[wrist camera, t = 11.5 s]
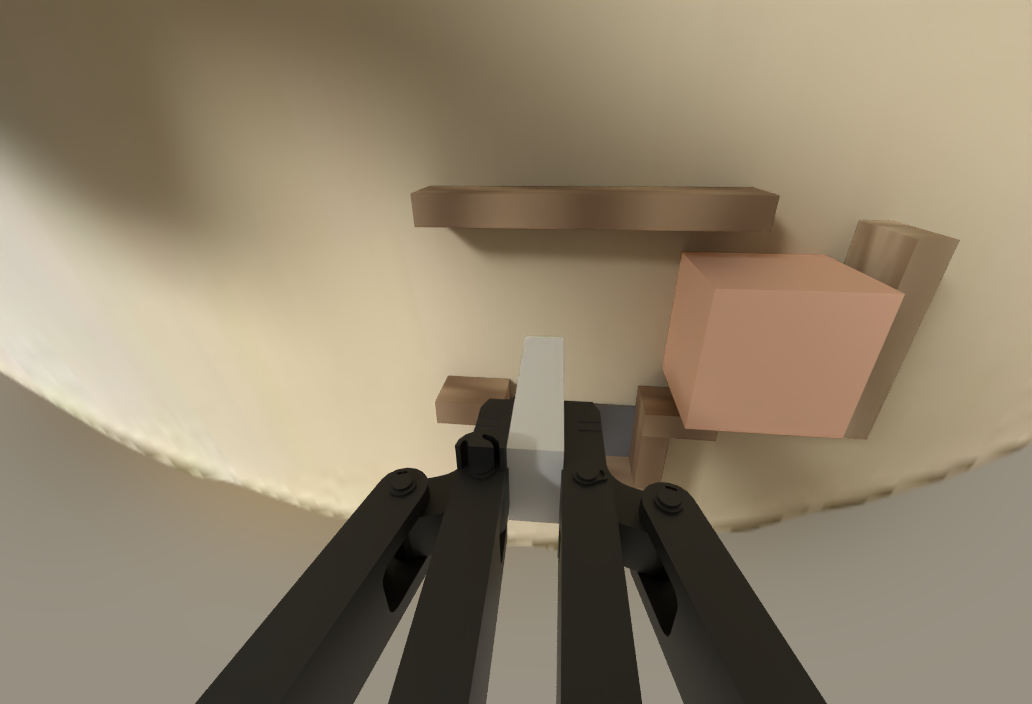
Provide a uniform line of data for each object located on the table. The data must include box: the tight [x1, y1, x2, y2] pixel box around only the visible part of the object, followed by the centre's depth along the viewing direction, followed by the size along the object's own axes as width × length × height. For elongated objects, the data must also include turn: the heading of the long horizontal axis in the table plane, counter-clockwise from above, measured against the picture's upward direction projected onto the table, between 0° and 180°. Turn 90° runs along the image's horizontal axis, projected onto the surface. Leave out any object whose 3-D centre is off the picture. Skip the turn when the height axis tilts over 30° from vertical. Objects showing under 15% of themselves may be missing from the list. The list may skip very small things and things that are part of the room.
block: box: [662, 252, 905, 439], centre depth 21 cm, size 7×7×6 cm
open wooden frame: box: [411, 186, 960, 490], centre depth 24 cm, size 23×18×4 cm
